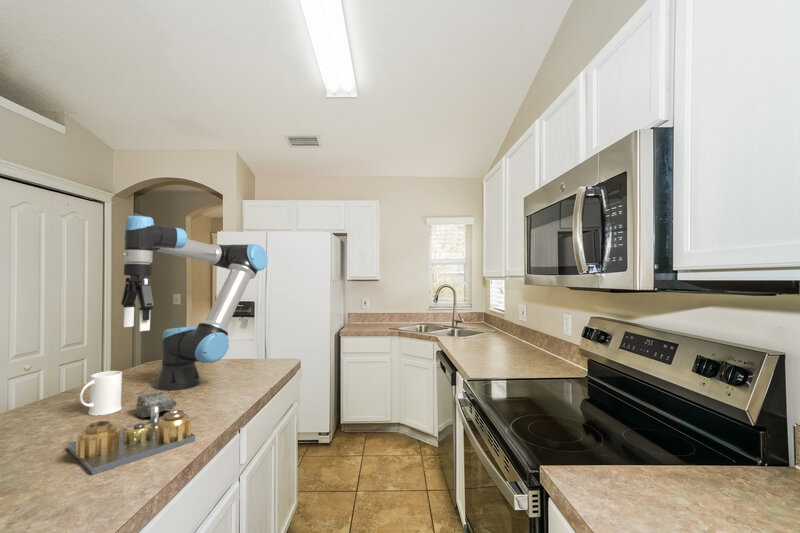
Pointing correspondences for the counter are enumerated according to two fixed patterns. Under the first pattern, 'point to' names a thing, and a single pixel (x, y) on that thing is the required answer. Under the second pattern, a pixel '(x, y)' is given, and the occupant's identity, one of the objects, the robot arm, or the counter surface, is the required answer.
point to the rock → (153, 403)
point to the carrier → (142, 440)
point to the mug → (104, 393)
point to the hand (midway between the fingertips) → (136, 328)
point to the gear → (97, 439)
